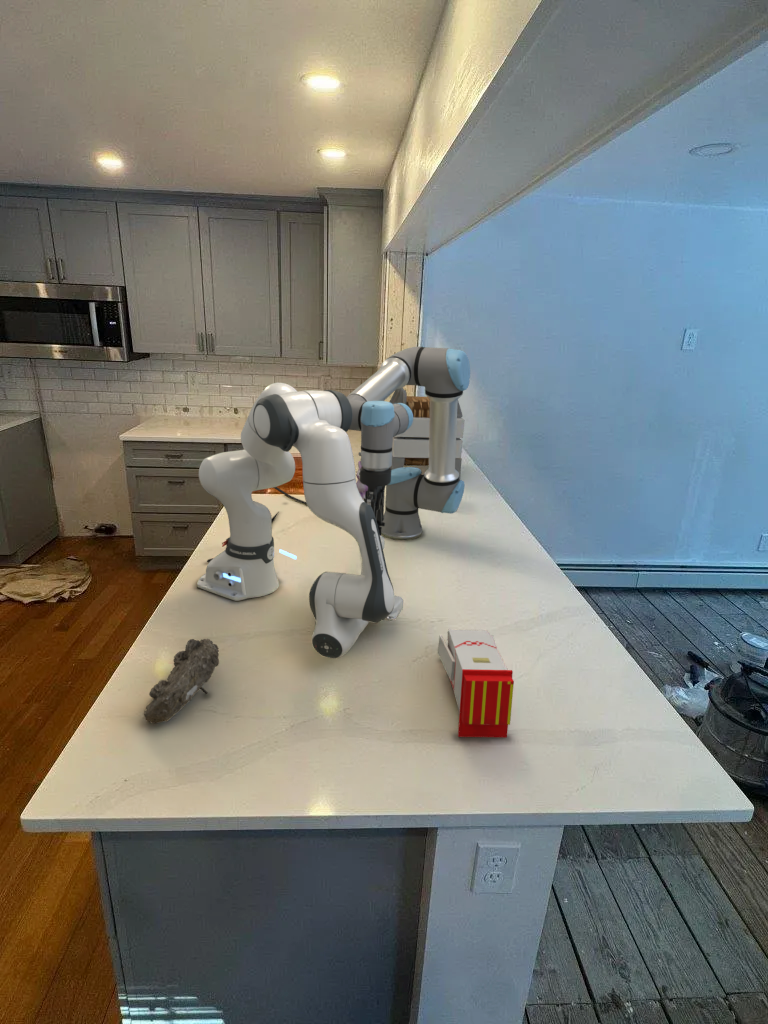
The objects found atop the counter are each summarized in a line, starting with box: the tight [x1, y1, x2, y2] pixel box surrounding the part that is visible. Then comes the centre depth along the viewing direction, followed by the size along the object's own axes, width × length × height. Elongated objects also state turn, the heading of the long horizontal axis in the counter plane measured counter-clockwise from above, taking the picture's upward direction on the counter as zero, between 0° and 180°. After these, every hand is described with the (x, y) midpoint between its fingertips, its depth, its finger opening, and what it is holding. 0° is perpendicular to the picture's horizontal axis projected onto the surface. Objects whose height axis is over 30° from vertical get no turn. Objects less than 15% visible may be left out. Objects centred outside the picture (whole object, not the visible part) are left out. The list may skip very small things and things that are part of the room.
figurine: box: [355, 460, 368, 500], centre depth 236 cm, size 9×10×15 cm
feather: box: [272, 512, 279, 524], centre depth 212 cm, size 2×28×2 cm
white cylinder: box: [380, 535, 386, 550], centre depth 143 cm, size 6×6×2 cm
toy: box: [437, 628, 515, 738], centre depth 117 cm, size 12×13×30 cm
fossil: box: [144, 638, 220, 724], centre depth 113 cm, size 22×10×15 cm
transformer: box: [388, 387, 465, 480], centre depth 268 cm, size 34×33×41 cm
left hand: (372, 587), depth 148 cm, fingers closed on jar, 5 cm apart
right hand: (372, 555), depth 144 cm, fingers closed on white cylinder, 6 cm apart
